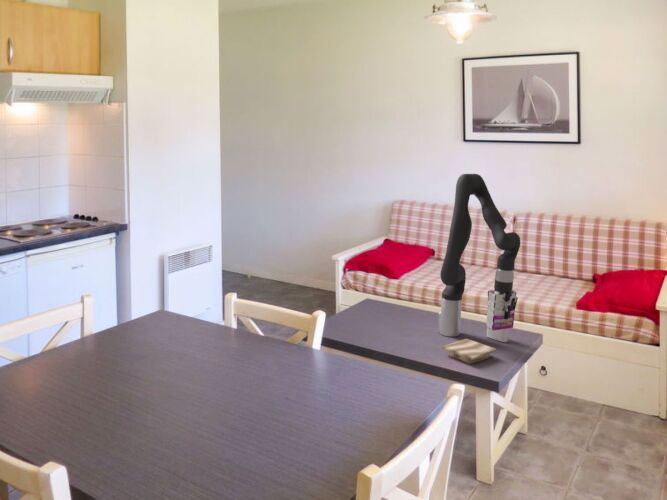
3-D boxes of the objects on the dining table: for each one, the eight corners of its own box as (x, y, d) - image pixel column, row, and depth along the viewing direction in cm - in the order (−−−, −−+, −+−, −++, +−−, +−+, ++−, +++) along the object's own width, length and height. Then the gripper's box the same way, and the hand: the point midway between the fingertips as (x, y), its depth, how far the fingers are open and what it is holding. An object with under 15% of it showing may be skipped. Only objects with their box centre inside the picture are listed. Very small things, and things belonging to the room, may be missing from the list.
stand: (441, 355, 278) (442, 346, 277) (465, 347, 288) (466, 338, 287) (471, 366, 266) (472, 357, 265) (495, 358, 276) (496, 349, 275)
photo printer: (485, 337, 301) (487, 311, 299) (490, 335, 304) (492, 309, 301) (503, 343, 294) (505, 317, 291) (509, 341, 296) (511, 315, 294)
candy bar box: (506, 324, 285) (509, 288, 282) (513, 328, 281) (517, 291, 277) (485, 326, 281) (488, 290, 277) (492, 330, 277) (495, 293, 273)
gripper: (523, 281, 273) (519, 320, 277) (495, 274, 284) (491, 311, 288) (513, 284, 268) (509, 323, 272) (484, 276, 279) (481, 314, 283)
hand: (500, 316), depth 280 cm, fingers closed on candy bar box, 5 cm apart
